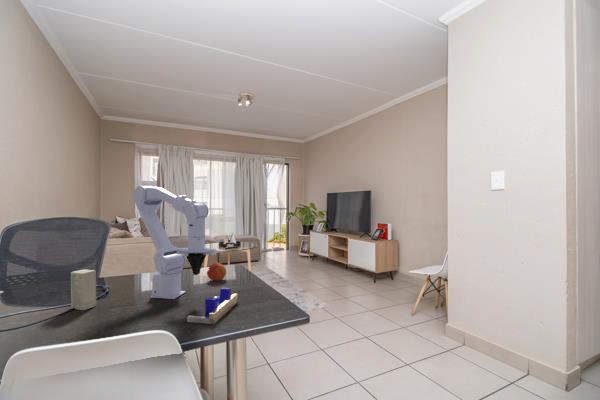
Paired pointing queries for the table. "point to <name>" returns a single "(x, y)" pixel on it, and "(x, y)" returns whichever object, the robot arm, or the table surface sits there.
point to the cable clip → (216, 300)
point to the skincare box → (83, 289)
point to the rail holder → (216, 311)
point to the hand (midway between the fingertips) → (196, 274)
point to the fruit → (216, 272)
